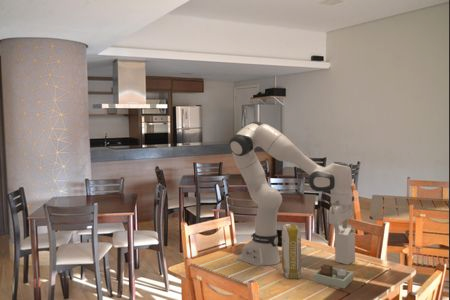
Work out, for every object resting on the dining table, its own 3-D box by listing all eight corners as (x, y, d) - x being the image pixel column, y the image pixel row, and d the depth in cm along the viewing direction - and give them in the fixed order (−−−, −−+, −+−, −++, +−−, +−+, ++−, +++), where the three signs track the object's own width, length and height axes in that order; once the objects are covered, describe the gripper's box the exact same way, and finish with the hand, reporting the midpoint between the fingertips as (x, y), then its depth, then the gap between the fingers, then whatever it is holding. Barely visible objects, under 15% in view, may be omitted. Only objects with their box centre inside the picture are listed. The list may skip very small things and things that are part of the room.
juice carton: (281, 272, 188) (280, 222, 187) (298, 271, 188) (297, 221, 187) (284, 279, 179) (284, 227, 177) (302, 279, 179) (301, 226, 177)
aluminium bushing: (344, 283, 172) (344, 271, 171) (334, 280, 174) (334, 269, 174) (347, 279, 175) (347, 268, 175) (337, 277, 178) (337, 266, 177)
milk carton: (342, 258, 205) (342, 222, 204) (355, 261, 200) (354, 224, 199) (335, 261, 200) (334, 224, 199) (348, 265, 195) (347, 227, 194)
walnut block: (329, 279, 176) (329, 268, 175) (320, 277, 178) (320, 266, 178) (332, 276, 179) (332, 265, 179) (324, 274, 181) (324, 264, 181)
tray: (313, 281, 176) (313, 274, 176) (323, 272, 186) (323, 265, 186) (344, 288, 168) (344, 280, 168) (353, 279, 177) (353, 271, 177)
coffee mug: (273, 247, 226) (272, 229, 226) (273, 242, 235) (273, 226, 234) (293, 247, 224) (293, 230, 224) (293, 243, 233) (293, 226, 232)
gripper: (339, 204, 162) (339, 237, 163) (355, 196, 179) (355, 226, 180) (324, 202, 166) (325, 235, 167) (342, 195, 182) (342, 224, 183)
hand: (341, 230), depth 173 cm, fingers open, 8 cm apart
